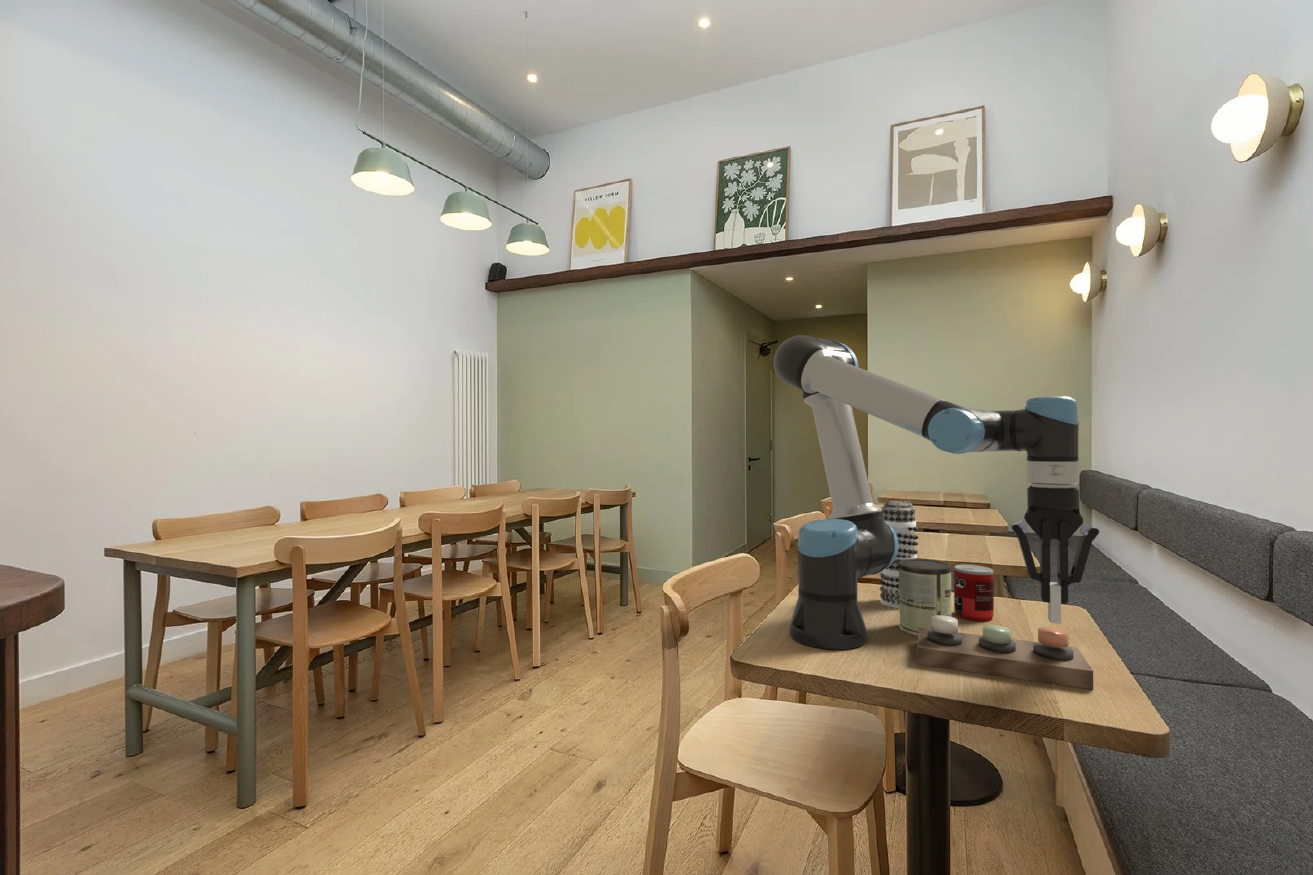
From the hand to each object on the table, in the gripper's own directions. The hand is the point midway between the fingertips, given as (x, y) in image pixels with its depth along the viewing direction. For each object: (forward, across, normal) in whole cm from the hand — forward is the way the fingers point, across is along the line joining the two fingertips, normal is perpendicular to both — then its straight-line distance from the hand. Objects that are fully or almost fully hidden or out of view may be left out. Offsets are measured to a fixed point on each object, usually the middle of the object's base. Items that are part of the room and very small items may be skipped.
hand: (1054, 621), depth 102 cm
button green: (+4, -9, 0) cm, 10 cm away
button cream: (+4, -17, 0) cm, 18 cm away
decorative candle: (+9, -27, +34) cm, 44 cm away
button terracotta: (+4, 0, 0) cm, 4 cm away
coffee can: (+9, -21, +15) cm, 27 cm away
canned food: (+9, -11, +30) cm, 33 cm away
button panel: (+9, -9, 0) cm, 12 cm away
